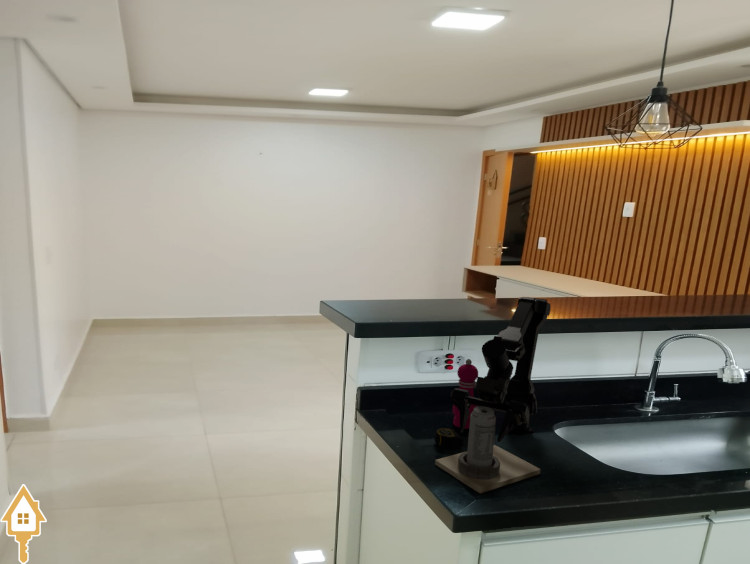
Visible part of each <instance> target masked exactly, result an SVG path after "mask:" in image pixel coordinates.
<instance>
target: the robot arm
mask: <svg viewBox="0 0 750 564" xmlns="http://www.w3.org/2000/svg"><path fill="white" fill-rule="evenodd" d="M551 308H552V307H551V303H549V302H548V299H544V298H538V297H537V298H536V297H529V296H522V297H519V298H518V300H517V306H516V308H515V310H514V313H512V317H511V319H510V321H509V323H508V325H507V326H506V328H505V329H503V330H501V331H499V333H498V334H497V335H494V336H493V339H490V340H488V341H485V343H483V345H482V347H481V353H482V355H483V358H484V362H485V364H486V367H487V368H488V371H487V373H486V376H484V377H481V376H478V377H477V379H476V383H475V385H476V386H475V387H474V390H475V391H476V394H477V396H478V397H477V396H474V397H471V396H470V393H469V391H468V390H463V389H460V387H459V388H458V387H455V388H454V389H452V390H451V393H450V396H449V398H450V399H451V401H452V403H453V406H456V407H457V408H458V410H459V412H460V428H459V433H460V434H461V433H462V434H463V433H464V430H466V429H465V426H466V422H467V419H468V416H469V413H470V411H469V408H470V407H471V405H475V406H477V407H478V406H483V407H488V408H491V409H493V410H494V411H498V412H502V413H505V416H504V420H503V422H502V425H501V428H500V430H499V432H498V434H497V439H496V441H497V443H500V442H501V441H502V440H504V438H505V437H506V436H507V435H508V434H509V433H510V432H511V433H513V434H515V435H517V436H521V435H525V434H527V433H532V432H534V429H533V428H531V427H530V425H531V423H530V422H531V415H534V414H537V411H538V402H537V397H536V394H535V386H534V384H533V381H532V379H531V377H532V371H533V365H534V360H535V354H536V348H537V342H538V340H539V339H538V338H539V332H540V329H541V328H542V327H543V326H544V325H545V324H546V323H547V321H548V316H549V315H550V313H551ZM511 361H514V362H516V366H515V371H514V365H513V363H512V362H511ZM513 371H514V375H513ZM512 375H513V376H512Z"/></svg>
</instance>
